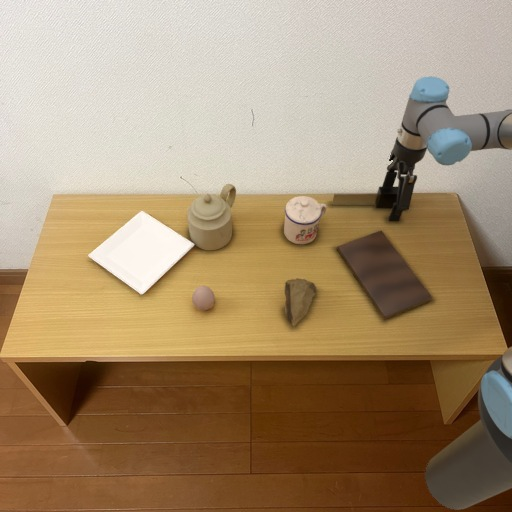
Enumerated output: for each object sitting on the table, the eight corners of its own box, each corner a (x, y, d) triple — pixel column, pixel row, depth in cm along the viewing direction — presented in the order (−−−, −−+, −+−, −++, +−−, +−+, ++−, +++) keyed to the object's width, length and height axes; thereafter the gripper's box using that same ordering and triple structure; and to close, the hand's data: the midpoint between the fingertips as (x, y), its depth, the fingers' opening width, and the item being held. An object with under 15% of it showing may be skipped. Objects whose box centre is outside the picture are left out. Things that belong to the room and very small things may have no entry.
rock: (309, 270, 115) (272, 281, 111) (327, 269, 107) (288, 281, 103) (320, 313, 115) (283, 326, 112) (338, 316, 107) (300, 329, 104)
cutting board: (430, 300, 113) (432, 297, 112) (384, 319, 110) (385, 316, 109) (380, 233, 125) (381, 230, 124) (336, 249, 122) (337, 246, 120)
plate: (195, 248, 121) (195, 243, 120) (143, 299, 112) (141, 294, 111) (142, 214, 128) (141, 209, 126) (89, 259, 119) (87, 255, 117)
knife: (332, 208, 130) (335, 194, 125) (331, 200, 132) (334, 186, 127) (405, 208, 130) (411, 194, 126) (403, 200, 132) (409, 186, 127)
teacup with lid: (295, 251, 121) (299, 221, 112) (276, 227, 126) (278, 197, 116) (333, 232, 125) (340, 201, 116) (313, 209, 130) (318, 178, 120)
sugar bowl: (197, 205, 130) (192, 164, 118) (237, 209, 129) (236, 168, 117) (185, 248, 121) (179, 208, 109) (228, 253, 121) (226, 213, 108)
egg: (189, 311, 111) (186, 295, 105) (198, 293, 113) (196, 277, 108) (210, 317, 110) (208, 302, 104) (218, 299, 112) (217, 284, 107)
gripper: (388, 110, 119) (369, 174, 137) (406, 175, 106) (383, 237, 124) (417, 110, 120) (395, 174, 138) (440, 175, 106) (412, 236, 124)
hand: (390, 204), depth 131 cm, fingers open, 10 cm apart
